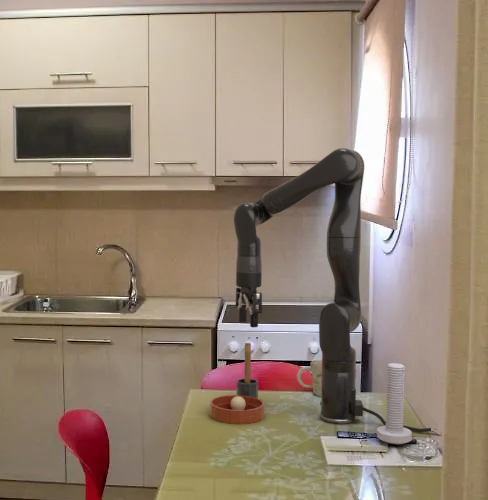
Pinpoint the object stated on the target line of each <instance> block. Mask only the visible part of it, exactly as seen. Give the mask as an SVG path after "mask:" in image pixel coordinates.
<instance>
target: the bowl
mask: <svg viewBox="0 0 488 500" xmlns="http://www.w3.org/2000/svg"><path fill="white" fill-rule="evenodd" d="M236 396H240V397H242V398H243V399H244V400H245V402H246V406H245V409H244V410H233V409H232V408H231V400H232V399H233V398H234V397H236ZM209 416H210V418H211V419H213V420H215V421H218V422H220V423H225V424H230V425H246V424H254V423H257V422H261V421H262V420H264V419H265V401H264V400H263V399H260V398H259V397H258V398H255V397H251V396H245V395H237V394H226V395H220V396H216V397H213V398H212V399H210V401H209Z"/></svg>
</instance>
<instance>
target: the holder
mask: <svg viewBox="0 0 488 500" xmlns="http://www.w3.org/2000/svg"><path fill="white" fill-rule="evenodd" d="M236 395H245V396H251V397H255V398H258V399H259V380H258V379H255V378H250V384H245V383H244V378H238V379H236Z"/></svg>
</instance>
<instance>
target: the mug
mask: <svg viewBox="0 0 488 500" xmlns="http://www.w3.org/2000/svg"><path fill="white" fill-rule="evenodd" d="M304 372H310V373H311V382H312V384H305V383H304V382H303V380H302V374H303V373H304ZM296 380H297V382H298V384H299V385H301V387H303V388H306V389H312V392H313V395H315V396H317V397H321V385H322V359H315V360H312V361H310V366H302V367H301V368H300V369H299V370H298V371H297V373H296Z"/></svg>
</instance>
